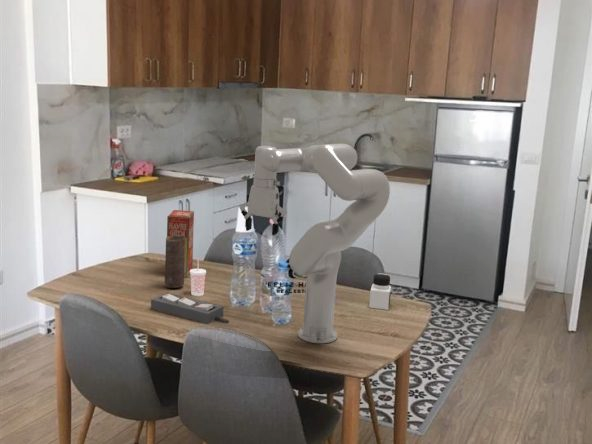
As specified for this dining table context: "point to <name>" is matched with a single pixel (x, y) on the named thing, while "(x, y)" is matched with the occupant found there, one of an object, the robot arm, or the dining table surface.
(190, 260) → the food packaging
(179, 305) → the power strip
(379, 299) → the medicine bottle
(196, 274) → the beverage cup
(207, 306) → the rocker near
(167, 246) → the candle
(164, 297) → the rocker far
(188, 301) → the rocker middle
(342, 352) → the dining table surface
